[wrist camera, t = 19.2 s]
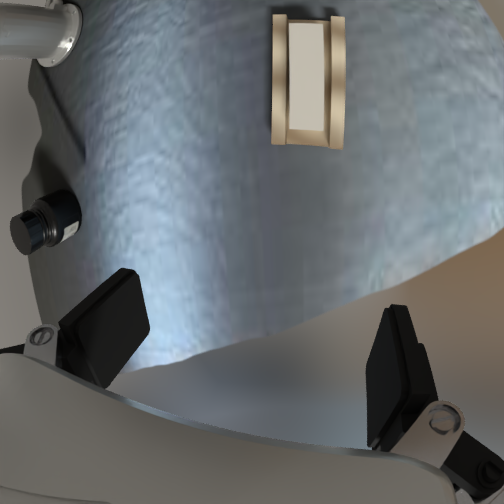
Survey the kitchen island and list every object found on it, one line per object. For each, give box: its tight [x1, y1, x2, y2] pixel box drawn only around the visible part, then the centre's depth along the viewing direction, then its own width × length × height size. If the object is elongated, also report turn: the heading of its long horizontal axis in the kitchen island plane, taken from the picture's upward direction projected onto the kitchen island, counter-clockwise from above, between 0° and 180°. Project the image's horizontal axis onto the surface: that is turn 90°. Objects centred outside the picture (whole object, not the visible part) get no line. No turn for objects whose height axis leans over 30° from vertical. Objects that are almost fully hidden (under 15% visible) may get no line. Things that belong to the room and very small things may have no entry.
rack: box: [271, 14, 345, 150], centre depth 29 cm, size 16×8×3 cm, turn 179°
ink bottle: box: [10, 190, 81, 255], centre depth 42 cm, size 10×9×12 cm
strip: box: [289, 23, 324, 131], centre depth 28 cm, size 12×4×4 cm, turn 0°
